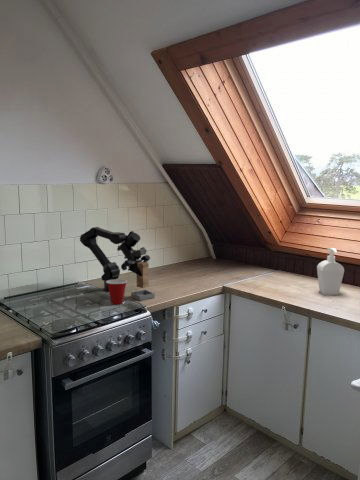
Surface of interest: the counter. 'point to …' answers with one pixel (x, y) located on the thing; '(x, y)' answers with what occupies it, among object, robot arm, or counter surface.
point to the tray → (142, 295)
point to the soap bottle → (330, 275)
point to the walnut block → (143, 275)
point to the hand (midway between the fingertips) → (144, 274)
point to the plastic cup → (116, 290)
